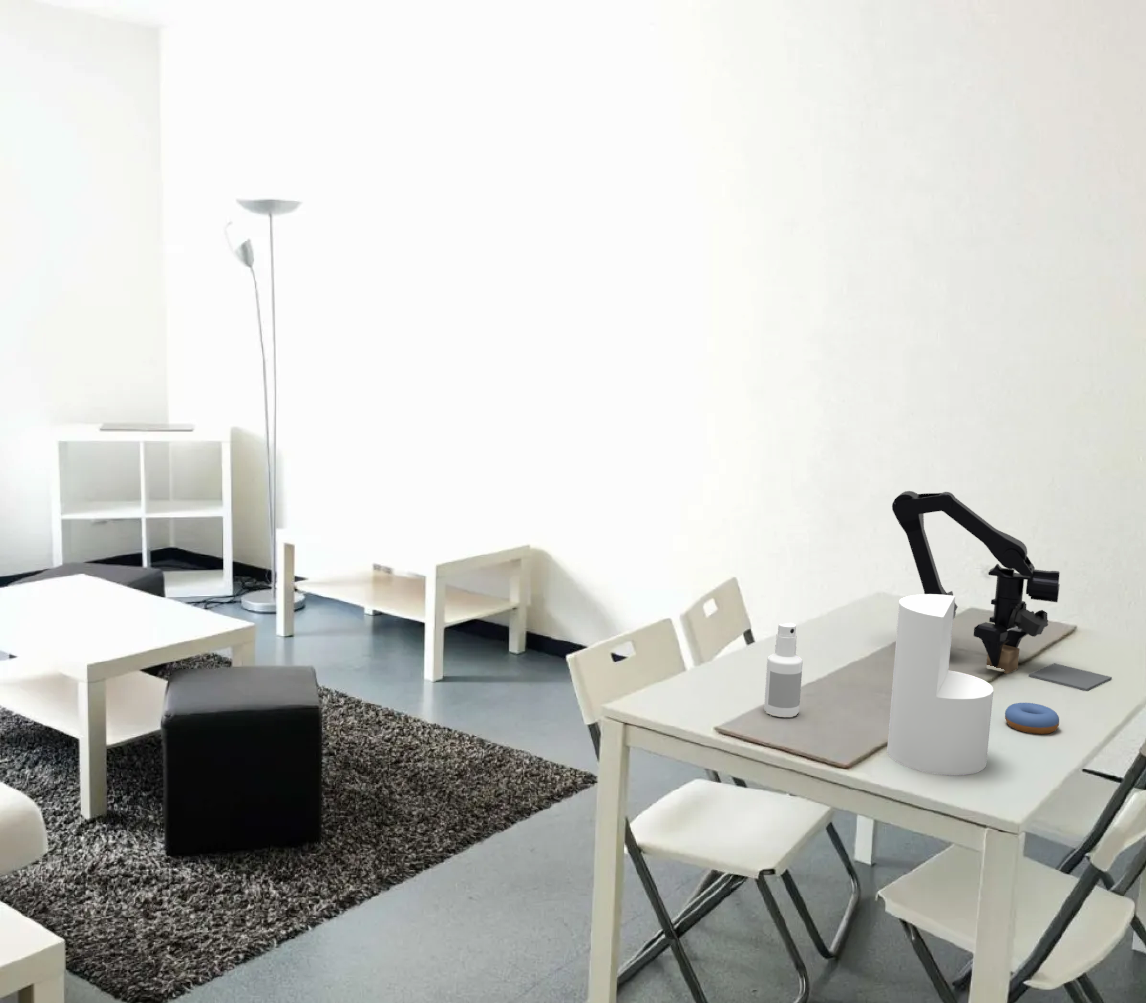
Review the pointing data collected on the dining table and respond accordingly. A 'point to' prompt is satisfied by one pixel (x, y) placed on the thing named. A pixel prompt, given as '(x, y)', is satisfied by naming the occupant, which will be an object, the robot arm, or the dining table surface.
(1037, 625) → the robot arm
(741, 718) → the dining table surface
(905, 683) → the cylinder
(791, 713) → the spray bottle
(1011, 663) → the walnut cube
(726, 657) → the dining table surface
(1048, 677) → the charcoal mat
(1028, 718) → the doughnut
